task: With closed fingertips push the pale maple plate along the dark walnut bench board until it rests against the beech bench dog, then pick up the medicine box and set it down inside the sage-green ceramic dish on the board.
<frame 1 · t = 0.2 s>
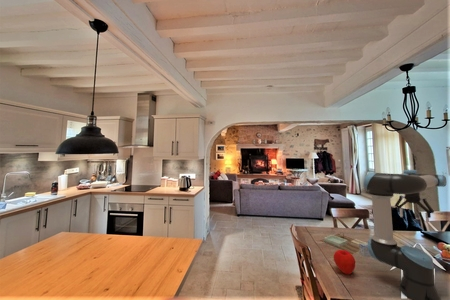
hand: (414, 219, 130), 28 cm above the table, fingers open, 13 cm apart
apple: (345, 272, 114), on the table
medicine box: (367, 256, 132), on the table
bench board: (344, 244, 151), on the table
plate: (358, 244, 146), point 1 cm above the table, touching bench board
tray: (335, 242, 151), resting on bench board
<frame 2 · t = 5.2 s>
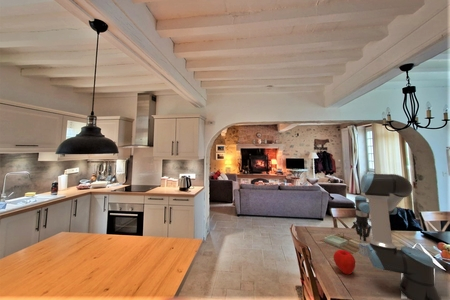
hand: (363, 244, 144), 3 cm above the table, fingers closed
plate: (357, 244, 148), point 1 cm above the table, touching gripper
everything else where it was.
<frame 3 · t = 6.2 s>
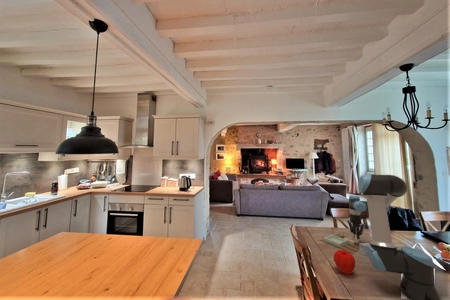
hand: (356, 242, 148), 3 cm above the table, fingers closed
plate: (350, 241, 152), point 1 cm above the table, touching bench board, gripper
everything else where it was.
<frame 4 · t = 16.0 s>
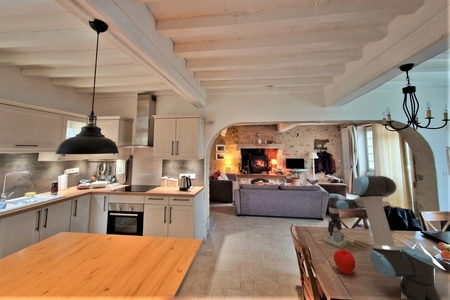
hand: (335, 238, 152), 4 cm above the table, fingers open, 9 cm apart
medicine box: (335, 241, 151), point 2 cm above the table
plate: (350, 241, 152), point 1 cm above the table, touching bench board
everything else where it was.
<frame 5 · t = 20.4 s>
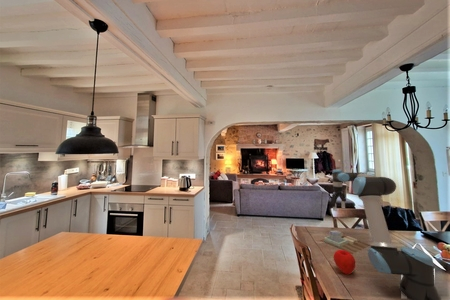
hand: (339, 209, 161), 27 cm above the table, fingers open, 13 cm apart
medicine box: (335, 242, 151), point 2 cm above the table, touching tray
everything else where it was.
at the end: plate 0.9 cm from the target spot, point 1.2 cm above the table; medicine box inside the target area on the tray (0.1 cm from its centre), point 0.4 cm above the tray's base; the gripper is holding nothing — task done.
